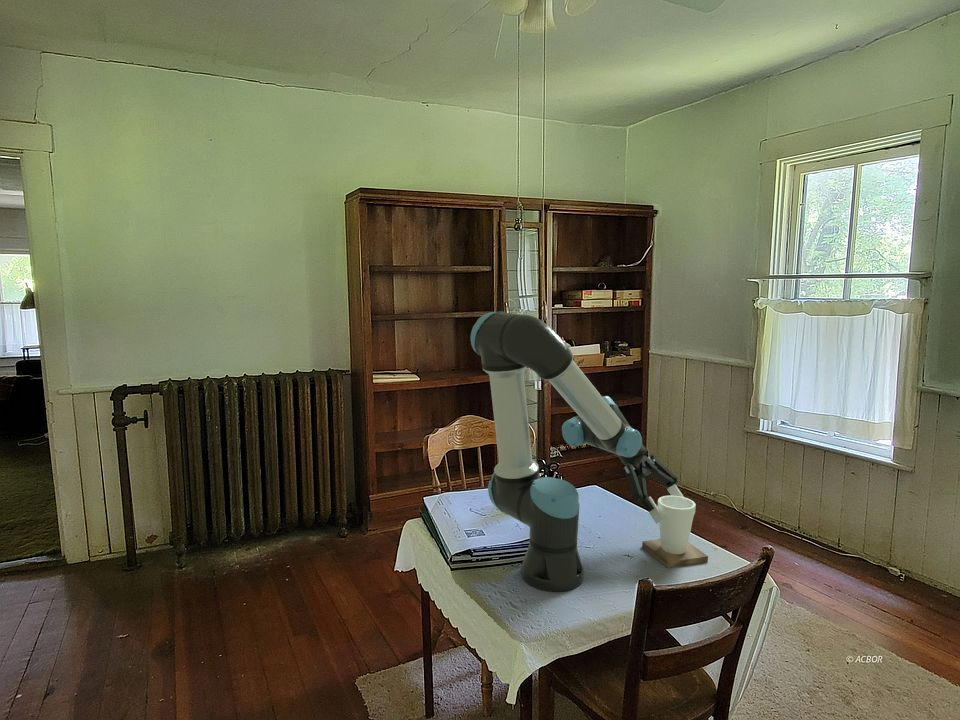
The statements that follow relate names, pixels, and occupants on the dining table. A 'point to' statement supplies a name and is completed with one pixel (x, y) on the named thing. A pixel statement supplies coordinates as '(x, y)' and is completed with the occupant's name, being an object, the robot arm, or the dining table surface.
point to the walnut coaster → (674, 560)
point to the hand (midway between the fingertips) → (673, 514)
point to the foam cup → (675, 523)
